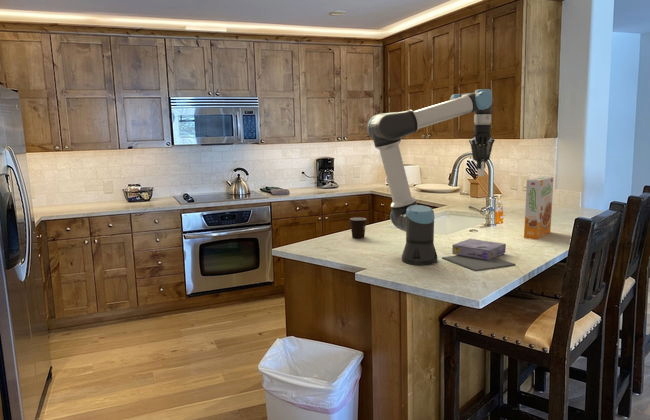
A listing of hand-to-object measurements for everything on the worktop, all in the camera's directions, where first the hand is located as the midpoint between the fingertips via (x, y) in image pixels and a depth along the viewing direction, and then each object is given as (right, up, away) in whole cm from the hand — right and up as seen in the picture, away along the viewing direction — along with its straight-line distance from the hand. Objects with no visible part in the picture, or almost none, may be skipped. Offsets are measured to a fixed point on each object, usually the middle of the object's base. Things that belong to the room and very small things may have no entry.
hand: (480, 175), depth 232 cm
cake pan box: (+4, -34, -13) cm, 37 cm away
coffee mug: (-53, -30, +34) cm, 70 cm away
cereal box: (+40, -29, +32) cm, 59 cm away
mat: (-7, -38, -19) cm, 43 cm away
